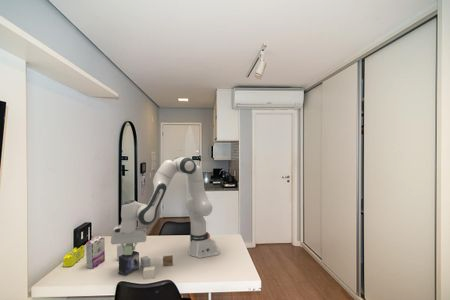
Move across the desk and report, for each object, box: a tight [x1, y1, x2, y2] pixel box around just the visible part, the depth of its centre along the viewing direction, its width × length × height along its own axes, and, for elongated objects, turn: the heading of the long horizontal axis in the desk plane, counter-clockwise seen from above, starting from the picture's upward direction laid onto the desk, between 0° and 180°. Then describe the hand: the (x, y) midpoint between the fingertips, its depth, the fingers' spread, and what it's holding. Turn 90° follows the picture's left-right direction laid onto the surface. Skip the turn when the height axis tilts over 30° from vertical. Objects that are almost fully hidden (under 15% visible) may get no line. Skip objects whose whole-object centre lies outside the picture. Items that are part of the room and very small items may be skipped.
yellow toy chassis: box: [62, 245, 85, 268], centre depth 157 cm, size 16×6×8 cm, turn 5°
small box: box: [117, 250, 140, 277], centre depth 144 cm, size 11×6×10 cm, turn 151°
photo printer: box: [116, 244, 126, 262], centre depth 161 cm, size 10×4×12 cm, turn 123°
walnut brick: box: [162, 255, 174, 267], centre depth 153 cm, size 4×6×5 cm, turn 101°
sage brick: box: [125, 243, 134, 255], centre depth 144 cm, size 4×6×5 cm, turn 11°
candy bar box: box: [85, 235, 106, 270], centre depth 153 cm, size 11×5×16 cm, turn 170°
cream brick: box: [142, 266, 156, 280], centre depth 138 cm, size 4×6×5 cm, turn 101°
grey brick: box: [140, 255, 151, 269], centre depth 151 cm, size 4×6×5 cm, turn 41°
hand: (129, 249), depth 144 cm, fingers closed on sage brick, 4 cm apart
